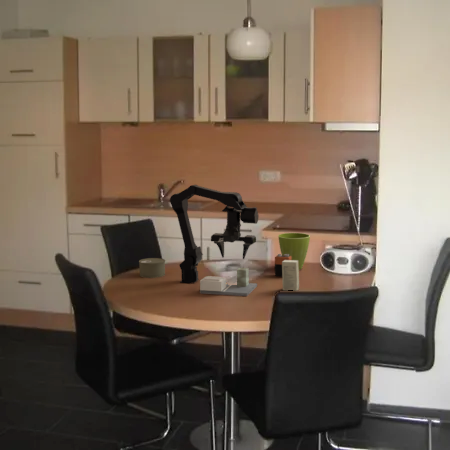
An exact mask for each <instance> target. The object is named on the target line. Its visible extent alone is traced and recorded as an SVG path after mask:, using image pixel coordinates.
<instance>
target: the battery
mask: <svg viewBox="0 0 450 450" xmlns="http://www.w3.org/2000/svg"><path fill="white" fill-rule="evenodd" d="M284 260H292V257H291V256H289V254H284V255H282V254H280V253H277V255H276V256H274V277H278V278H279V277H281V278H282V262H283V261H284Z"/></svg>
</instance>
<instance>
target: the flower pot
mask: <svg viewBox="0 0 450 450" xmlns="http://www.w3.org/2000/svg"><path fill="white" fill-rule="evenodd" d="M277 237H278V244H279V249H280V253H281V255H284V254H289V256H291V257H292V260H298V264H299V271H300V270H302V269H303V265H304V264H305V260H306V258H307V254H308V250H309V245H310V239H311V235H310V234H307V233H303V232H286V233H281V234H278V236H277Z"/></svg>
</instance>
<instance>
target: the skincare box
mask: <svg viewBox="0 0 450 450" xmlns="http://www.w3.org/2000/svg"><path fill="white" fill-rule="evenodd" d="M299 272H300V270H299V264H298V260H284V261H283V262H282V277H281V278H282V291H288V290H293V291H292V292H297V291H298V290H299V289H300V273H299Z"/></svg>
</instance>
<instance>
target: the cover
mask: <svg viewBox="0 0 450 450" xmlns="http://www.w3.org/2000/svg"><path fill="white" fill-rule="evenodd" d="M226 282H227V277H223V276H214V275H213V276H211V275H206V276H204V277H203V278H201V279H200V280H199V286H200V287H199V288H200V290H206V291H222V290H224V289H225V288H226ZM200 290H199V291H200Z"/></svg>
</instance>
